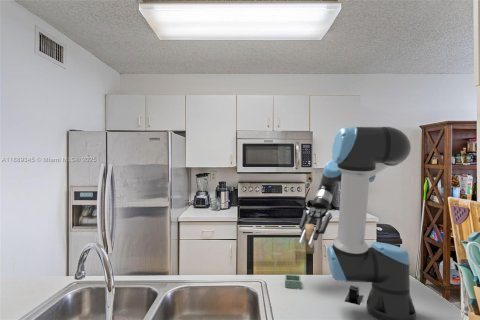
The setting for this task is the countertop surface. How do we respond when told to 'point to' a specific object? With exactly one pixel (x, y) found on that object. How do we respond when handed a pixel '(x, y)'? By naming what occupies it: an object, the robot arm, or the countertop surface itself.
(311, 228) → the block
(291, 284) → the cradle
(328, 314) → the countertop surface
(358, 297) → the black blocky piece
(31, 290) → the countertop surface
